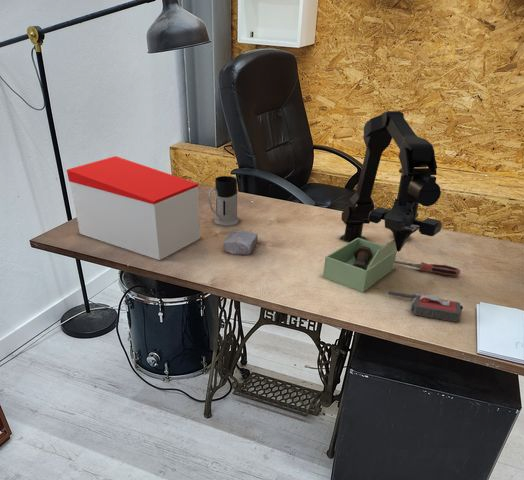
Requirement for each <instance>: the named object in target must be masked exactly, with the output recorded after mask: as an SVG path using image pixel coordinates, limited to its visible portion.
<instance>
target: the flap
mask: <svg viewBox="0 0 524 480" xmlns="http://www.w3.org/2000/svg"><path fill="white" fill-rule="evenodd" d="M382 246H383V247H382V248H380V249H379V250H378V251H377V252H376V254H375V256H374V257H373V259H372V261H371V263H370V264H369V266H368V268H367V269H369V268H371V267H372V266H374V265H375V264H377V263H378V262H379V261H381V260H382V259H384V258H385V257H387V256H388V255H390V254H391V253H392V252H394V251H395V250H397V249H396V243H395V238H393V239H392V240H390V241H389V242H388V243H386V244H385V245H382Z"/></svg>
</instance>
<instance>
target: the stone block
mask: <svg viewBox="0 0 524 480" xmlns="http://www.w3.org/2000/svg"><path fill="white" fill-rule="evenodd" d="M258 239H259V234H258V233H255V232H252V231H248V230H237V231H232V232H230V234H228V235H227V237H226V238H225V240H224V241H223V243H222V245H223V250H224V251H225V253H229V254H232V255H243V256H245V255H246V256H250V255H251V253H252V251H253V250H254V248H255V246H256V244H257V243H258Z"/></svg>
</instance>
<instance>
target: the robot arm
mask: <svg viewBox="0 0 524 480" xmlns="http://www.w3.org/2000/svg"><path fill="white" fill-rule="evenodd" d="M362 138H363V142H364V145H365V154H364V157H363V162H362V164H361V165H362V166H361V170H360V175H359V178H358V182H357V186H356V187H357V188H356V192H355V193H354V194H353V195H352V196H351V197H350V198H349V199H348V203H347V206H346V207H345V208H344V210H343V211H342V212H341V221H342V222H343V223H344V224H345V229H344V234H343V235H342V236H340V240H343V241H346V242H348V243H350V242H351V241H353V240H355V239H357V238H360V239H364V240H366V237H365V236H363V228H364V224H368V225H369V224H370V223H374V224H379V223H380V222H381V221H384V228H385V229H387V230H389V231H391V233H392V236H393V235H394V238H393V239H395V243H396V249H397V252H399V253H400V252H401V250H402V249H403V247H404V246H405V244H406V243H407V241H408V240H409V239H410V236H411V235H412V234H414V233H415V232H417V231H418V232H419V233H420V235H424V236H427V237H434V236H435V235H438V233H440V232H441V231H442V227H443V223H442V222H441V220H440V219H434V218H431V217H427V218H426V219H424V220H420V219H417V218H418V217H419V213H418V211H419V205H421V206H423V207H431V206H433V205H435V204H436V203H437V202H438V201H439V200H440V197H441V195H442V190H441V187H440V185H439V184H438V183H437V177H436V176H437V169H438V165H437V160H436V152H435V149H434V145H433V144H432V143H431V142H430V141H428V140H427V139H426V138H424V137H423V138H422V137H420V136H418V135H417V134H416V132H415V131H414V130H413V129H412V127H411V126H410V125H409V123H408V121H407V120H406V119H405V117H404V112H403V111H400V110H386V111H384V112H382V113H381V114H379V115H377V116H374V117H372V118H370V119H368V120H367V121H366V123H364V126H363V137H362ZM392 140H393V141H394V143H395V144H396V146H397V147H398V149H399V152H398V155H397V157H398V160H399V162H400V163H399V164H400V165H401V167H400V168H399V169H398V172H399V173H400V179H399V185H398V191H397V196H396V198H395V199H394V202H393V205H392V207H391V208H390V209H389V208H385V207H381V206H378V207H376V208H375V205H374V203H373V200H372V198H371V196H372V194H373V189H374V186H375V181H376V178H377V174H378V169H379V166H380V163H381V159H382V155H383V153H384V151H386V149H387V148H389V146H390V145H391V143H392ZM408 238H409V239H408ZM407 239H408V240H407Z"/></svg>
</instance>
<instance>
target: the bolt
mask: <svg viewBox="0 0 524 480" xmlns="http://www.w3.org/2000/svg"><path fill="white" fill-rule="evenodd" d="M354 256H355V259H356V262H355V263H354V264H353V265H352V266H355V267H358V268H361V269H364V270H367V266H366V264H367V263H368V262H369V261H370V260H371V259H372V257H373V255H372V252H371V249H370V248H369V247H365V246H360V247H359V248H358V249H357V250H356V251H355V253H354Z"/></svg>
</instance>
